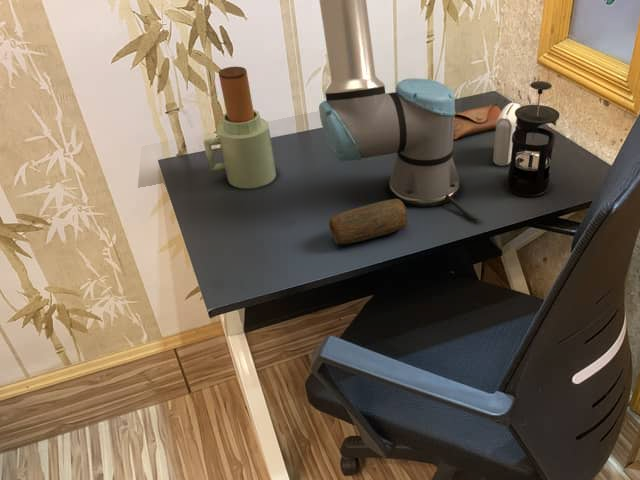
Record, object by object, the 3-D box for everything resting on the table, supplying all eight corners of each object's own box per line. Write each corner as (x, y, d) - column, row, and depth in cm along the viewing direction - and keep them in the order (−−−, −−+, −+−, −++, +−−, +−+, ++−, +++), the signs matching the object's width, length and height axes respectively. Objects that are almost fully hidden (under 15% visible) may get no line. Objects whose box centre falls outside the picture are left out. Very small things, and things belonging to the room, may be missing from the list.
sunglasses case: (454, 139, 154) (448, 112, 152) (441, 143, 160) (435, 117, 159) (514, 124, 160) (508, 98, 158) (499, 129, 166) (494, 104, 165)
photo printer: (502, 146, 152) (507, 96, 144) (519, 149, 151) (525, 99, 143) (490, 164, 145) (494, 114, 137) (508, 167, 143) (513, 116, 135)
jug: (279, 184, 139) (269, 123, 129) (213, 194, 136) (199, 131, 127) (273, 162, 147) (263, 102, 138) (211, 170, 144) (197, 110, 135)
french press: (558, 194, 134) (576, 89, 119) (520, 202, 132) (533, 96, 117) (531, 169, 143) (545, 69, 128) (495, 177, 140) (504, 75, 125)
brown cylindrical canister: (257, 130, 133) (247, 74, 125) (230, 134, 131) (219, 77, 124) (254, 120, 137) (245, 65, 129) (228, 123, 136) (217, 68, 128)
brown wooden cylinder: (394, 217, 128) (393, 188, 124) (410, 234, 123) (410, 205, 119) (326, 236, 123) (323, 207, 118) (340, 255, 118) (338, 225, 114)
